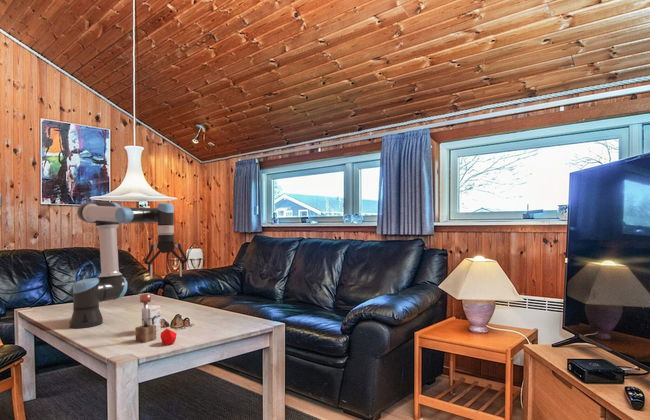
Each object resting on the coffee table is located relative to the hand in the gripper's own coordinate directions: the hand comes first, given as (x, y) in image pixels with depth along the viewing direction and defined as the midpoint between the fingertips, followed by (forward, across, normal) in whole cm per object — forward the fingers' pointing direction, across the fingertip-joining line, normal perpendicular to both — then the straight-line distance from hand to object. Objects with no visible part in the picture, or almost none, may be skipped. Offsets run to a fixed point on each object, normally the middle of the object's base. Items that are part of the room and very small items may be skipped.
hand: (166, 277), depth 206 cm
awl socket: (+25, -8, -19) cm, 33 cm away
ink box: (+25, -7, -3) cm, 26 cm away
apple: (+25, +1, -29) cm, 38 cm away
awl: (+20, -8, -19) cm, 29 cm away
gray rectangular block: (+25, +8, -2) cm, 26 cm away
